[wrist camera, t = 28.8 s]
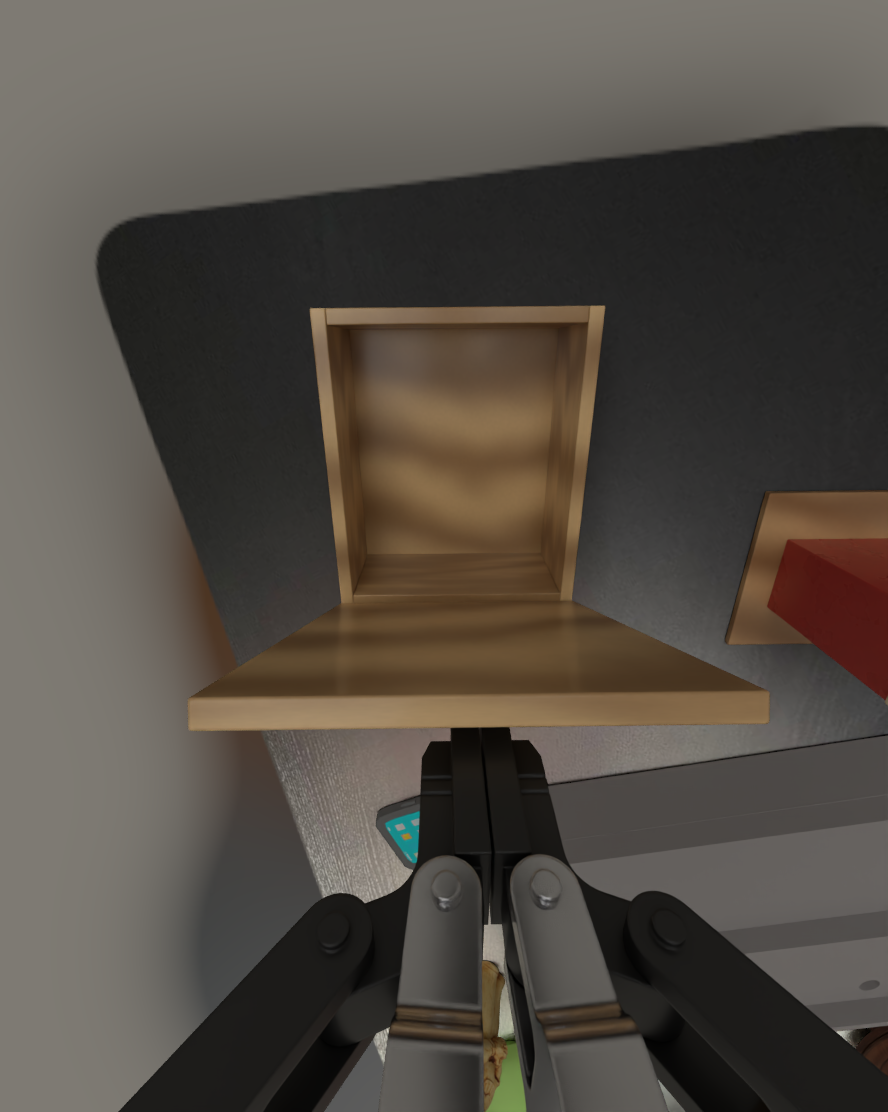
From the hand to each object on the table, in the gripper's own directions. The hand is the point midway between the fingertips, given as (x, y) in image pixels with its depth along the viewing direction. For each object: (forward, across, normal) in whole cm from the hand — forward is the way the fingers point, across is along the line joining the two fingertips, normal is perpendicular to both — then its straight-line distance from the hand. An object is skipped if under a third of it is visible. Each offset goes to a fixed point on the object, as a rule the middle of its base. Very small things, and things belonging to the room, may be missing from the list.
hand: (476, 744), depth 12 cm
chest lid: (+7, 0, +1) cm, 7 cm away
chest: (+21, 0, -4) cm, 22 cm away
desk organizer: (+21, -25, +39) cm, 51 cm away
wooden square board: (+21, -27, +6) cm, 35 cm away
